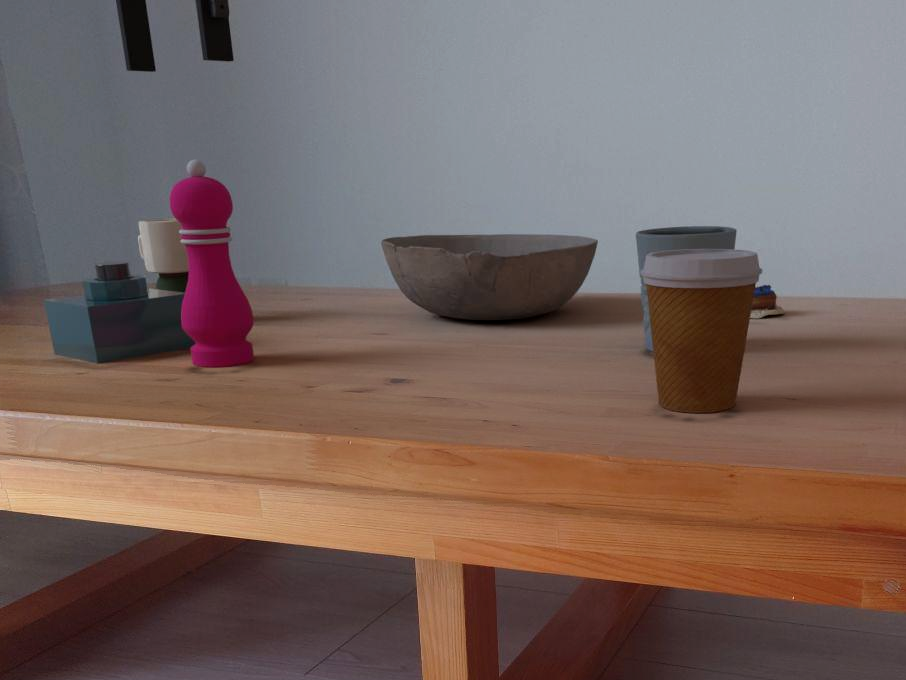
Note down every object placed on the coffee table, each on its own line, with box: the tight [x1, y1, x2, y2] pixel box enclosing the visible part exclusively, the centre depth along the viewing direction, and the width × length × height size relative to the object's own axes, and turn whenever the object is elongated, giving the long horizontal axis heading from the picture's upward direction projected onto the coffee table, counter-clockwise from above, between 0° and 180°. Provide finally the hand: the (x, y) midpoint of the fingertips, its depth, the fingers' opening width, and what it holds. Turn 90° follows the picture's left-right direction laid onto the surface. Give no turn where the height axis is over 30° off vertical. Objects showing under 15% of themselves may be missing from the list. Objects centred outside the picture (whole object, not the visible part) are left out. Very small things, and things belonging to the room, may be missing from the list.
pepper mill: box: [169, 159, 255, 368], centre depth 103 cm, size 7×7×20 cm
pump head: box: [93, 261, 132, 281], centre depth 111 cm, size 4×4×2 cm
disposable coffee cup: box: [640, 249, 764, 414], centre depth 81 cm, size 10×10×12 cm
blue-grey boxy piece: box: [43, 274, 196, 365], centre depth 113 cm, size 12×10×8 cm
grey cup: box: [635, 225, 738, 352], centre depth 105 cm, size 10×10×12 cm
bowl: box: [380, 233, 599, 321], centre depth 131 cm, size 28×28×10 cm
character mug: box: [137, 217, 189, 293], centre depth 131 cm, size 11×7×13 cm, turn 65°
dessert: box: [750, 284, 785, 320], centre depth 127 cm, size 8×7×6 cm
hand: (178, 66), depth 96 cm, fingers open, 13 cm apart
